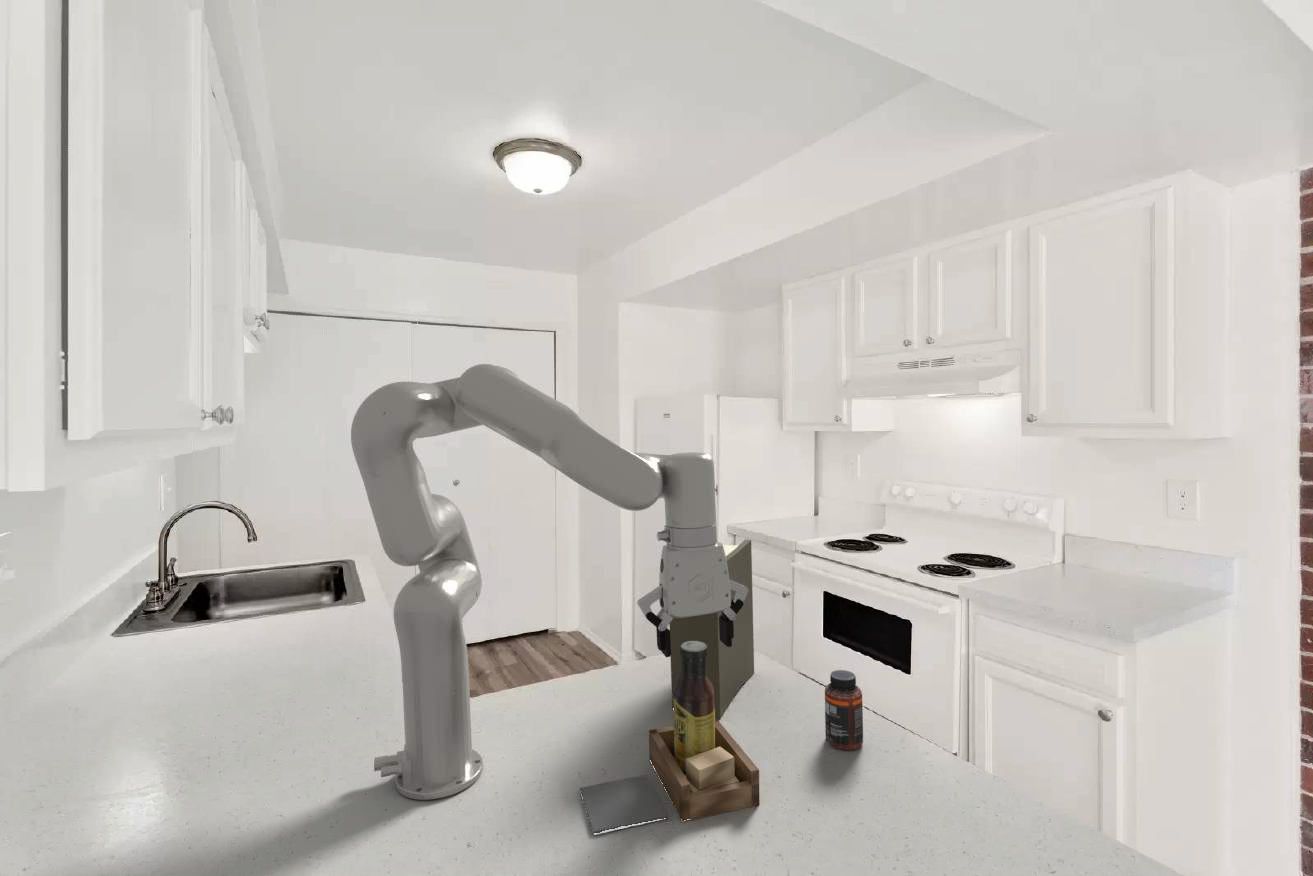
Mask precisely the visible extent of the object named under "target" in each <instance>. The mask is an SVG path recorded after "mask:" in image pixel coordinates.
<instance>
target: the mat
mask: <svg viewBox="0 0 1313 876" xmlns="http://www.w3.org/2000/svg"><path fill="white" fill-rule="evenodd" d="M580 791H581V794H582V797H583V800H582V802H583V801H584V803H583V806H584V805H585V807H584V809H585V808H586V810H585V812H586V811H587V813H586V816H587V815H588V816H587V818H588V817H589V819H588V821H589V820H590V823H589V825H590V824H591V826H590V828H591V827H592V829H591V831H592V830H593V832H592V834H593V833H600V832H602V831H605V830H609V829H615V828H618V827H621V826H628V825H632V824H638V823H642V822H648V821H653V820H657V819H664V818H667V813H666V811H665V809H664V808H663V805H662V803H661V802H660V799H659V797H658V796H657V794H656V792H655V789H654V788H653V785H652V784H651V781H650V780H649V778H648V776H647V774H641V775H637V776H636V775H635V776H632V777H626V778H622V779H617V780H612V781H607V782H602V783H597V784H592V785H588V786H587V785H586V786H583V787H579V792H580ZM581 794H580V795H581ZM582 797H581V798H582ZM667 819H668V818H667Z"/></svg>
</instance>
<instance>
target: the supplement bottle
mask: <svg viewBox="0 0 1313 876" xmlns="http://www.w3.org/2000/svg"><path fill="white" fill-rule="evenodd" d="M829 677H830V681H829V682H830V683H828V684H827V685H826V687H825V688H824V714H825V715H824V717H825V718H824V720H825V721H824V723H825V726H824V727H825V728H824V732H825V740H826V742H827V743H828V745H830V746H832V747H833V748H835V749H838V750H842V751H843V750H844V751H852V750H857V749H859V748H860V747H861V746H863V743H864V717H863V714H864V713H863V693H862V690H861V689H860V687H859V686H858V685H856V684H857V677H856V674H855V673H853V672H852V671H850V670H845V669H837V670H833V671H832V672H830V676H829Z"/></svg>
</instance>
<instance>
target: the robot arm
mask: <svg viewBox="0 0 1313 876" xmlns="http://www.w3.org/2000/svg"><path fill="white" fill-rule="evenodd" d="M480 426H485V428H488V429H489V430H492V431H494V432H495V433H497V434H499V435H500V436H503V438H505V439H507V440H509V441H511V442H513V443H514V444H516V445H518V446H520V447H522V448H524V449H525V450H527V451H529V452H530V453H532V454H534V455H535V456H538V457H539V458H540V459H542V460H543V461H544V462H546V463H547V464H548V465H549V466H551V467H553V468H554V469H556V470H558V471H559V472H560V473H562V474H563V475H565V476H566V477H568V478H569V479H570V480H571V481H573V482H574V483H576V484H578V485H579V486H581V487H583V488H585V489H586V490H588V491H590V493H591V492H592V493H593V494H595V495H596V496H599V497H600V498H602V499H604V500H606V501H607V502H609V503H611V504H613V505H615V506H616V507H619V508H621V509H623V510H627V511H631V512H632V511H633V512H640V511H644V510H646V509H649V508H651V507H652V506H653V505H654V504H656V503H657V501H658V500H659V499H664V512H665V513H664V515H665V518H664V519H665V525H664V528H663V529H662V530H661V531H657V532H656V538H657V541H659V542H661V541H663V542H665V543H666V544H664V545H663V546H662V549H661V554H660V555H661V556H660V563H659V575H658V576H659V578H658V586H657V587H655V588H654V589H653V590H651V591H650V592H648V593H646V594H645V595H643V596H642V597H640V598H639V599H638V600H637V606H638V608H639V609H640V611H641V612H642V614H643V615H644V617H645V618H646V620H647V621H649V622H650V623H651V624H652V625H653V626H655V629H656V645H657V646H656V647H657V649H658V651H661V653H662V654H663V656H664V657H666V658H671V657H670V656H671V639H670V628H668V627H669V623H670V622H671V621H672V619H673V618H684V617H691V616H698V615H705V614H711V613H717V612H722V615H720V617H719V634H720V641H721V642H722V643H723V644H725V645H726V646H727V647H732V639H733V638H734V627H733V620H735V619H736V614H737V613H738V612H739V610H740V609H741V608H742V607H743V604H744V603H743V602H744V600H745V598H746V596H747V593H748V588H747V587H745V586H744V585H741V584H739V583H737V582H734V581H732V580H729V573H728V567H727V561H726V556H725V551H724V547H723V545H724V544H723V543H721V542H719V541H718V532H717V531H718V529H717V507H716V484H715V483H716V480H715V479H716V478H715V462H714V460H713V458H712V456H711V455H710V454H709V453H705V452H678V453H673V454H659V453H657V454H655V453H647V452H646V453H645V452H631V451H629V450H628V449H626V448H624V447H622V446H620V445H619V444H617V443H616V442H614V441H612V440H610V439H609V438H607V437H606V436H604V435H602V434H601V433H599V432H598V431H597V430H595V429H594V428H592V427H591V426H589V425H588V424H587V423H586V422H585V421H584V420H583V419H582V418H581V417H580V416H579V414H577V412H576V411H574V410H573V409H572V408H571V407H569V406H568V405H566V404H564V403H562V402H561V401H560V400H559V401H558V400H557V399H555V398H553V397H551V396H549V395H548V394H545V393H544V392H542V391H540V390H538V389H537V388H535V387H533V386H532V385H530V384H528V383H526V382H525V381H524V380H522V379H521V378H520V377H519V375H518V374H516V373H515V372H514V371H512V370H511V369H508V368H506V367H503V366H498V365H494V364H490V363H479V364H475V365H473V366H471V367H469V368H467V369H466V370H465V371H464V372H463V373H462V374H461V375H460V377H455V378H451V379H445V380H442V381H436V382H431V383H426V382H417V381H396V382H391V383H388V384H386V385H383V386H381V387H379V388H377V389H376V390H374V391H373V392H371V393H370V394H369V395H368V396H367V397H365V399H364V400H363V401H362V403H360V406H359V407H358V408H357V410H356V412H355V413H354V416H353V420H352V422H351V427H350V428H351V429H350V442H351V448H352V452H353V456H354V459H355V461H356V462H355V463H356V465H357V467H358V470H359V473H360V476H361V480H362V482H363V484H364V488H365V492H366V495H367V501H368V503H369V507H370V508H371V512H372V516H373V519H374V523H375V525H376V528H377V533H378V536H379V540H380V542H381V546H382V548H383V551H384V553H385V555H386V556H387V557H388V559H389V560H390V561H391V562H393V563H394V564H395V565H398V566H402V567H414V566H417V567H418V570H419V573H418V574H416V575H414V576H413V577H412V578H411V579H409V580H408V581H407V582H406V583H405V585H404V586H402V588H401V590H400V591H399V592H398V594H397V596H396V599H395V601H394V607H393V622H394V623H393V624H394V629H395V632H396V637H397V641H398V646H399V647H398V648H399V653H400V655H399V656H400V663H401V664H400V665H401V683H402V701H403V720H404V721H403V722H404V723H403V724H404V742H405V743H404V746H403V750H399V751H397V752H396V754H391V755H382V756H381V755H380V756H375V757H374V759H373V770H374V772H379V771H380V777H381V778H386V777H390V776H394V775H395V787H396V790H397V791H398V792H399V794H401V795H402V796H404V797H405V798H406V797H407V798H409V799H413V800H420V801H422V800H423V801H428V800H430V801H431V800H437V799H444V798H446V797H450V796H453V795H455V794H457V793H459V792H462V791H465V789H467V788H469V787H470V786H471V785H473V784H474V783H475V782H476V781H477V780H478V779H479V778H480V776H481V775H480V774H482V773H481V772H483V770H482V769H484V760H483V757H482V755H481V754H480V753H479V752H478V751H476V750H474V749H473V748H472V747H473V746H472V745H473V744H472V743H473V742H472V723H471V722H472V720H471V698H470V697H471V696H470V695H471V693H470V692H471V691H470V690H471V689H470V673H469V672H470V671H469V657H468V654H469V652H468V646H467V642H466V638H465V637H466V636H465V632H464V628H463V622H464V621H463V619H464V617H465V616H466V614H467V613H468V612H469V611H470V610H471V609H472V608H473V606H474V605H476V603H477V601H478V600H479V597H480V595H481V593H482V588H483V583H482V575H481V574H482V573H481V569H480V568H479V563H478V560H477V557H476V554H475V550H474V547H473V543H472V540H471V538H470V534H469V530H468V527H467V525H466V521H465V518H464V516H463V514H462V512H461V510H460V509H459V507H458V506H457V504H455V503H454V502H453V501H452V500H451V499H450V498H448V497H445V496H444V495H441V494H435V493H433V494H432V492H431V489H430V487H429V484H428V479H427V477H426V472H425V469H424V467H423V464H422V463H421V461H420V459H419V457H418V456H417V454H416V452H415V450H414V447H413V446H414V444H413V442H414V441H415V440H416V439H424V438H432V437H438V436H442V435H445V434H450V433H453V432H454V433H455V432H459V431H462V430H463V431H464V430H468V429H472V428H476V427H480ZM730 589H731V590H733V591H735V592H736V594H735V598H733V599H732V601H731V590H730ZM658 601H659V602H658ZM655 602H658V603H659V606H660V610H659V611H658V612H657V614H655V613H654V612H653V610H652V609H651V606H652V605H654V603H655ZM477 778H478V779H477Z"/></svg>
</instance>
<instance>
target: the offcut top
mask: <svg viewBox="0 0 1313 876" xmlns="http://www.w3.org/2000/svg"><path fill="white" fill-rule="evenodd" d="M733 778H735V769H734V757H733V756H732V755H731V754H729V753H728V752H727V751H725V750H724V749H723V748H721V747H717V748H714V749H712V750H709V751H706V752H703V753H701V754H698V755H695V756H692V757H690V758H687V759H686V779H687V780H688V781H689V782H690V783H691V784H692V785H693V786H694V787H695V788H696V789H698V790H699V791H701V790H705V789H708V788H710V787H713V786H715V785H718V784H720V783H723V782H725V781H728V780H730V779H733Z"/></svg>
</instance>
